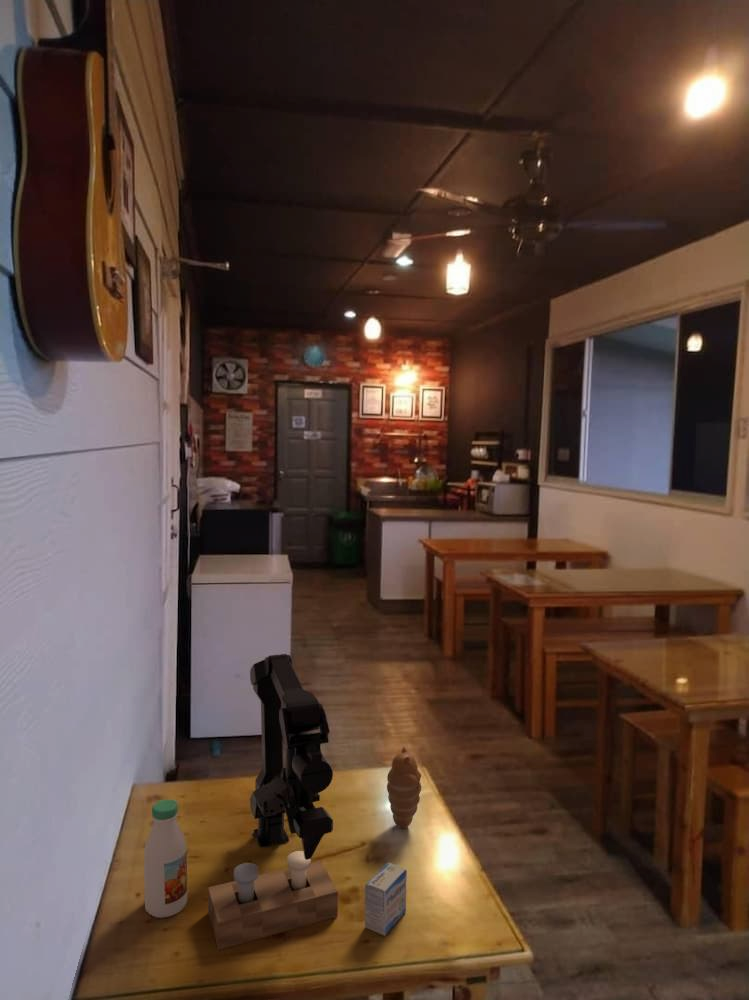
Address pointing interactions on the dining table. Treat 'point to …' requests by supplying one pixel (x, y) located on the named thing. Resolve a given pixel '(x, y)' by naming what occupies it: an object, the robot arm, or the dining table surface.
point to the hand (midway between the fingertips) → (300, 845)
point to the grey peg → (246, 881)
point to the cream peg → (298, 869)
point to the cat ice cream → (403, 788)
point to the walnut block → (271, 906)
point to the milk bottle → (165, 862)
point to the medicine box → (385, 898)
